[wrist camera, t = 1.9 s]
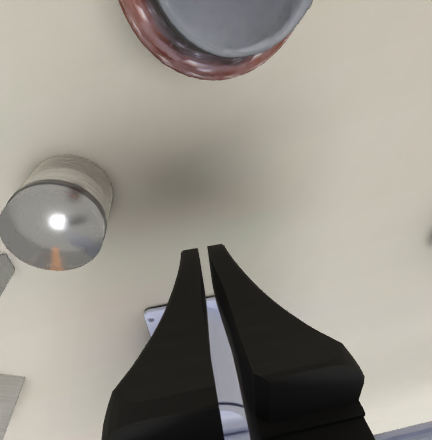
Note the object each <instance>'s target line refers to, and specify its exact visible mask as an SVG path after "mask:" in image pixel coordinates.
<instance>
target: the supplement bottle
mask: <svg viewBox="0 0 432 440" xmlns="http://www.w3.org/2000/svg"><path fill="white" fill-rule="evenodd" d="M118 1H119V3H120V6H121V8H122V10H123V12H124V15H125V17H126V19H127V21H128V22H129V24H130V26H131V28H132V30H133V31H134V32H135V34H136V35H137V37H138V38H139V40H140V41H141V42H142V44H143V45H144V46H145V47H146V48H147V49H148V50H149V51H150V52H151V53H152V54H153V55H154V56H155V57H156V58H157V59H159V60H160V61H161V62H162V63H163V64H165V65H167V66H168V67H170V68H172V69H174V70H175V71H177V72H179V73H182V74H184V75H187V76H189V77H194V78H198V79H202V80H223V79H230V78H234V77H237V76H239V75H243V74H245V73H248V72H250V71H252V70H254V69H255V68H256V67H258V66H260V65H262V64H263V63H265V62H266V61H267V60H268V59H269V58H270V57H271V56H272V55H274V54H275V53H276V52H277V51H278V50H279V49H280V48H281V46H282V45H283V44H284V43H285V42H286V40H287V39H288V37H289V36H290V35H291V34H292V32H293V30H294V28H295V27H296V25H297V24H298V23H299V22H300V20H301V19H302V18H303V16H304V15H305V13H306V11H307V10H308V9H309V8H310V6H311V4H312V2H313V0H118Z"/></svg>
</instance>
